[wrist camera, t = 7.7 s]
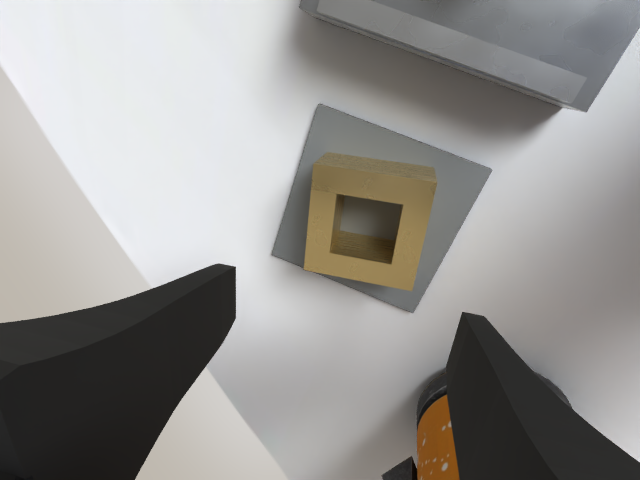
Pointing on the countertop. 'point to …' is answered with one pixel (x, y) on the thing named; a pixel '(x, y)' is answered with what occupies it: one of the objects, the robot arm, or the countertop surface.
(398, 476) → the canister
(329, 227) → the brass square ring
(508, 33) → the block
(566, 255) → the countertop surface
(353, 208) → the rubber mat
